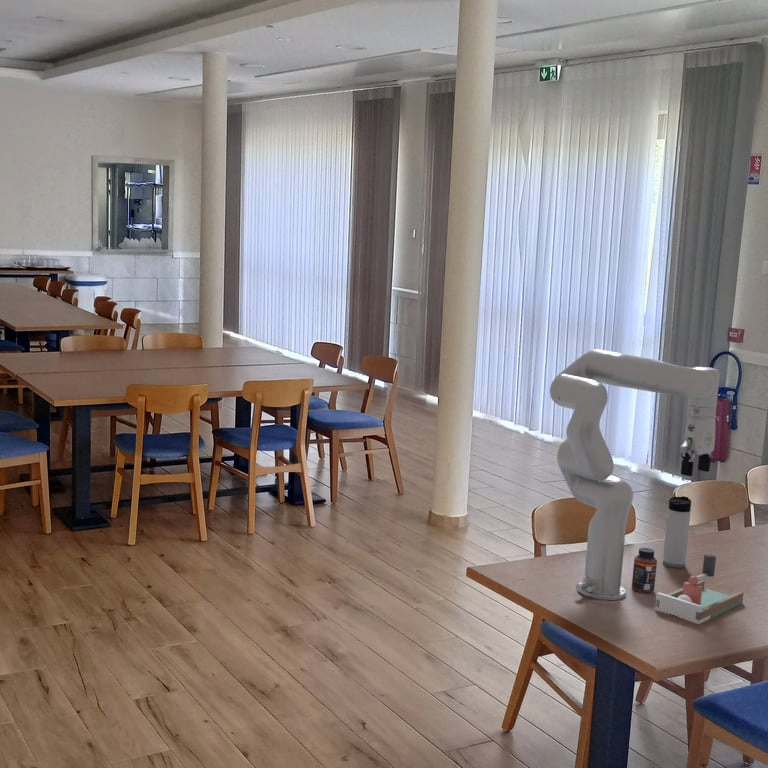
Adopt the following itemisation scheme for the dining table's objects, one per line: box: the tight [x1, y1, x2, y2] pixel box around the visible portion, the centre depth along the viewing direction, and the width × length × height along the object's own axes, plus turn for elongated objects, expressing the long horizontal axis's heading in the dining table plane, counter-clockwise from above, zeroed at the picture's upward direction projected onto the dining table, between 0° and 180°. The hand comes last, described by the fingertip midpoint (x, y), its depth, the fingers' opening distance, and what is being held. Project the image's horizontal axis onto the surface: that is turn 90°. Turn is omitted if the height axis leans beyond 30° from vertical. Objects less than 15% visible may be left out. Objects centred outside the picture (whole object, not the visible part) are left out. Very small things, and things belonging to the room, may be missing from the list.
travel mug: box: [662, 495, 692, 569], centre depth 299 cm, size 6×7×20 cm
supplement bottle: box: [631, 547, 658, 594], centre depth 275 cm, size 6×6×11 cm
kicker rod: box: [682, 553, 717, 605], centre depth 264 cm, size 11×4×12 cm, turn 136°
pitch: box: [654, 580, 744, 625], centre depth 266 cm, size 24×12×4 cm, turn 136°
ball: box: [678, 595, 692, 603], centre depth 259 cm, size 4×4×4 cm
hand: (695, 472), depth 284 cm, fingers open, 9 cm apart
